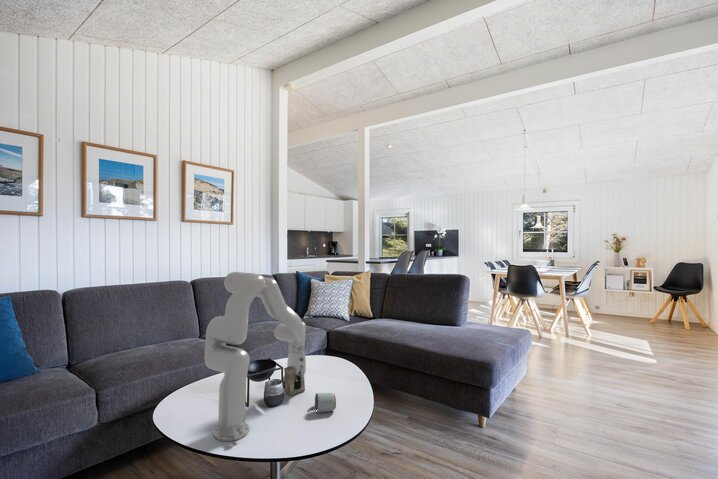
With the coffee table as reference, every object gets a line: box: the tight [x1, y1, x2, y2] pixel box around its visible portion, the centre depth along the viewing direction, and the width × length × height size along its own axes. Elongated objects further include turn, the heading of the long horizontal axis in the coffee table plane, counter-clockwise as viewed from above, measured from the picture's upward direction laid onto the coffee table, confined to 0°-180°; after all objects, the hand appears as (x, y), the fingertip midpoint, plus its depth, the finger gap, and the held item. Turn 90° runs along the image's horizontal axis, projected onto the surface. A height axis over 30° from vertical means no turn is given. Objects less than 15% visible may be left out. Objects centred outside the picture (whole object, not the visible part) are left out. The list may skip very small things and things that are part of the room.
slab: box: [283, 366, 306, 396], centre depth 173 cm, size 4×8×12 cm, turn 128°
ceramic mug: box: [314, 392, 337, 414], centre depth 159 cm, size 11×8×8 cm
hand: (295, 387), depth 173 cm, fingers closed on slab, 4 cm apart
